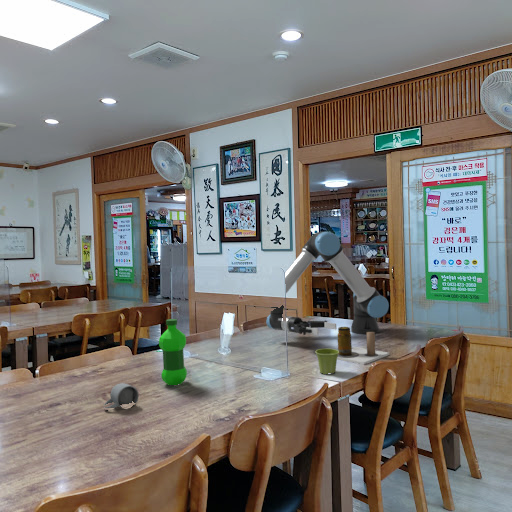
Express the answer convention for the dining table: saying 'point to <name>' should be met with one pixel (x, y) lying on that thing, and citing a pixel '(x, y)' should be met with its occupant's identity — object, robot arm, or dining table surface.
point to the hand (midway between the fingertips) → (327, 329)
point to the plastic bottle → (173, 354)
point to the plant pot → (327, 360)
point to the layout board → (365, 352)
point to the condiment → (345, 342)
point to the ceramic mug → (122, 395)
